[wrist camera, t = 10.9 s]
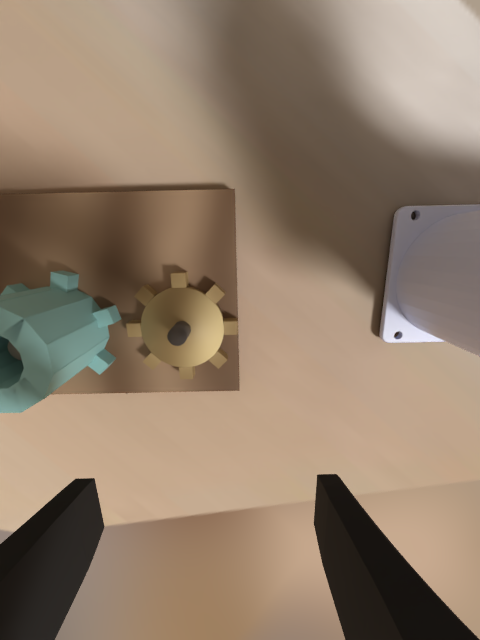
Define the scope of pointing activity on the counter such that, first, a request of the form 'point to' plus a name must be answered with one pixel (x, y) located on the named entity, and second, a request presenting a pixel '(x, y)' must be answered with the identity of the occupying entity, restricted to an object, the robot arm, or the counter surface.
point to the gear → (49, 339)
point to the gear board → (138, 280)
